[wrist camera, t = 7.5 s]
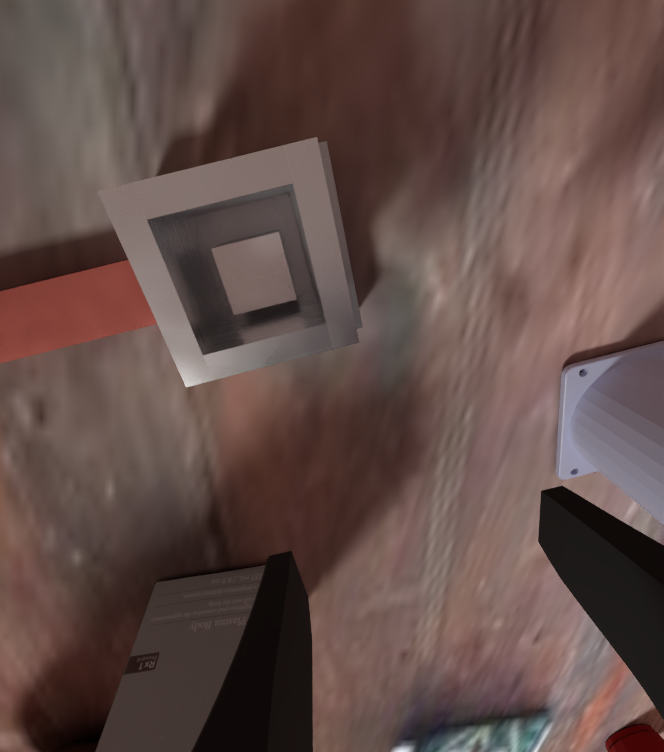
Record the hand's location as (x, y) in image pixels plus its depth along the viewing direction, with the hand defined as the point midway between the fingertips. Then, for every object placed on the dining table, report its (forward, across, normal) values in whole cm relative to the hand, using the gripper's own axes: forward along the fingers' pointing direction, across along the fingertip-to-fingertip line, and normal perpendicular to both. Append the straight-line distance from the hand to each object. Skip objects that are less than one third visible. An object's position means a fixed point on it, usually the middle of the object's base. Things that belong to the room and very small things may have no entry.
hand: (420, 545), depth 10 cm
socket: (+8, +3, -8) cm, 12 cm away
